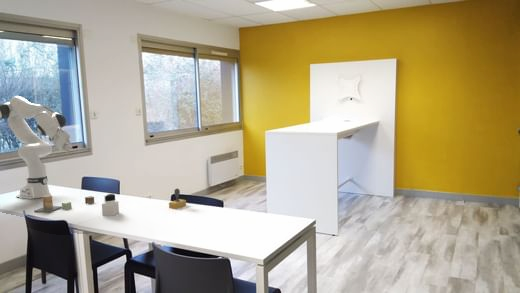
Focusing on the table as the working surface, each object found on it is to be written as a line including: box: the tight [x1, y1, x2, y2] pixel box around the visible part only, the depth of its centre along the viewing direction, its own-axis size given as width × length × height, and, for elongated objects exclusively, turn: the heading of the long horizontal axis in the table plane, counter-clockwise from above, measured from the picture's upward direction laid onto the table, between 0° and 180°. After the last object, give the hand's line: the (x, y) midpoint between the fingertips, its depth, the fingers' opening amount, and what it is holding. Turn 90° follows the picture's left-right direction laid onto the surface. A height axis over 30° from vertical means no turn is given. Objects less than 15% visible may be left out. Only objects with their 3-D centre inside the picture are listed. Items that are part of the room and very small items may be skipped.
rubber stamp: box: [168, 188, 187, 210], centre depth 253 cm, size 10×6×12 cm, turn 148°
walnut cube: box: [84, 195, 95, 205], centre depth 268 cm, size 4×4×4 cm
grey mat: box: [33, 205, 62, 214], centre depth 252 cm, size 11×11×1 cm
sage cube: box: [61, 201, 72, 210], centre depth 255 cm, size 4×4×4 cm
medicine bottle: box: [101, 193, 120, 217], centre depth 239 cm, size 7×7×12 cm
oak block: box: [41, 195, 54, 210], centre depth 251 cm, size 4×4×8 cm
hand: (70, 149), depth 261 cm, fingers open, 8 cm apart
